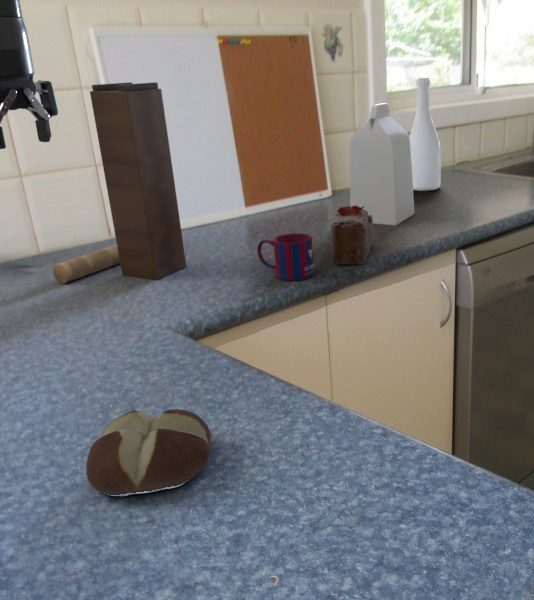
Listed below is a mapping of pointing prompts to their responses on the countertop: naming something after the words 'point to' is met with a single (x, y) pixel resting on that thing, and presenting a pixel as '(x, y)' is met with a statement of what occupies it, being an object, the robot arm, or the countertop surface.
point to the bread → (148, 452)
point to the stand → (139, 178)
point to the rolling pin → (86, 264)
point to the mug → (291, 256)
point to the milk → (382, 169)
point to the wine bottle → (424, 143)
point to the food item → (351, 235)
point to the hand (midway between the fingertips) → (23, 145)
